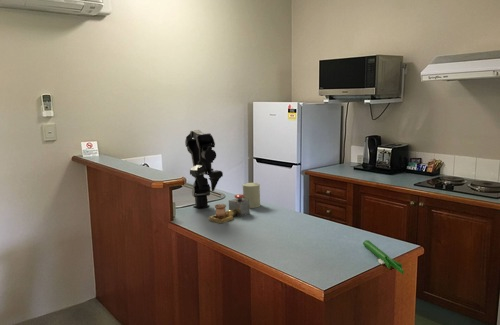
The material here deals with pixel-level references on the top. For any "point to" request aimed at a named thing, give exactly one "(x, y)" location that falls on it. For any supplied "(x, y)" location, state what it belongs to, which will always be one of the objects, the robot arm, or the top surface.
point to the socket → (214, 219)
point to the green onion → (383, 257)
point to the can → (252, 194)
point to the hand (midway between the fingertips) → (206, 189)
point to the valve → (238, 206)
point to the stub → (220, 211)
